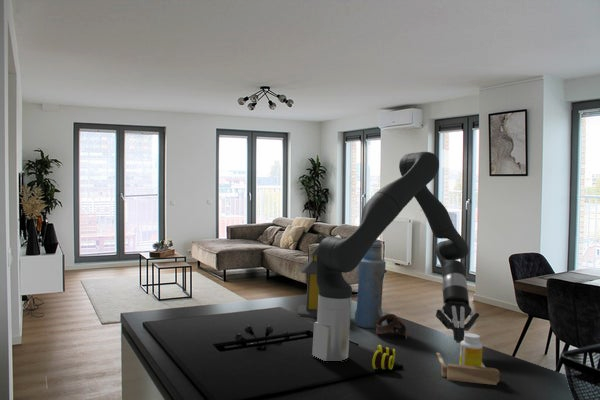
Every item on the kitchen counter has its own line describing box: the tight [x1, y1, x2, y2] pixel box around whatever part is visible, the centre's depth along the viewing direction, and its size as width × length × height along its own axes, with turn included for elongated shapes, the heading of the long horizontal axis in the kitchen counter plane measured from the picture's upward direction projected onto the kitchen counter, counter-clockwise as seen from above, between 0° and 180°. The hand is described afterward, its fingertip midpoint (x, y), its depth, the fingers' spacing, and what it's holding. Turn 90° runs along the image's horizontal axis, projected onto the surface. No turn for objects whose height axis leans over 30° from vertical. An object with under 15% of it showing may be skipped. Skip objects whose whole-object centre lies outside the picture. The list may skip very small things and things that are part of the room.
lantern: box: [297, 232, 325, 318], centre depth 193 cm, size 14×14×30 cm
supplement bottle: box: [458, 332, 483, 367], centre depth 135 cm, size 6×6×10 cm
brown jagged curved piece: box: [375, 313, 408, 340], centre depth 167 cm, size 12×10×8 cm
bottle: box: [354, 239, 387, 329], centre depth 178 cm, size 10×10×30 cm
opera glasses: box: [371, 344, 396, 370], centre depth 136 cm, size 10×5×5 cm, turn 164°
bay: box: [435, 352, 501, 386], centre depth 139 cm, size 22×14×4 cm, turn 172°
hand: (459, 341), depth 147 cm, fingers closed
